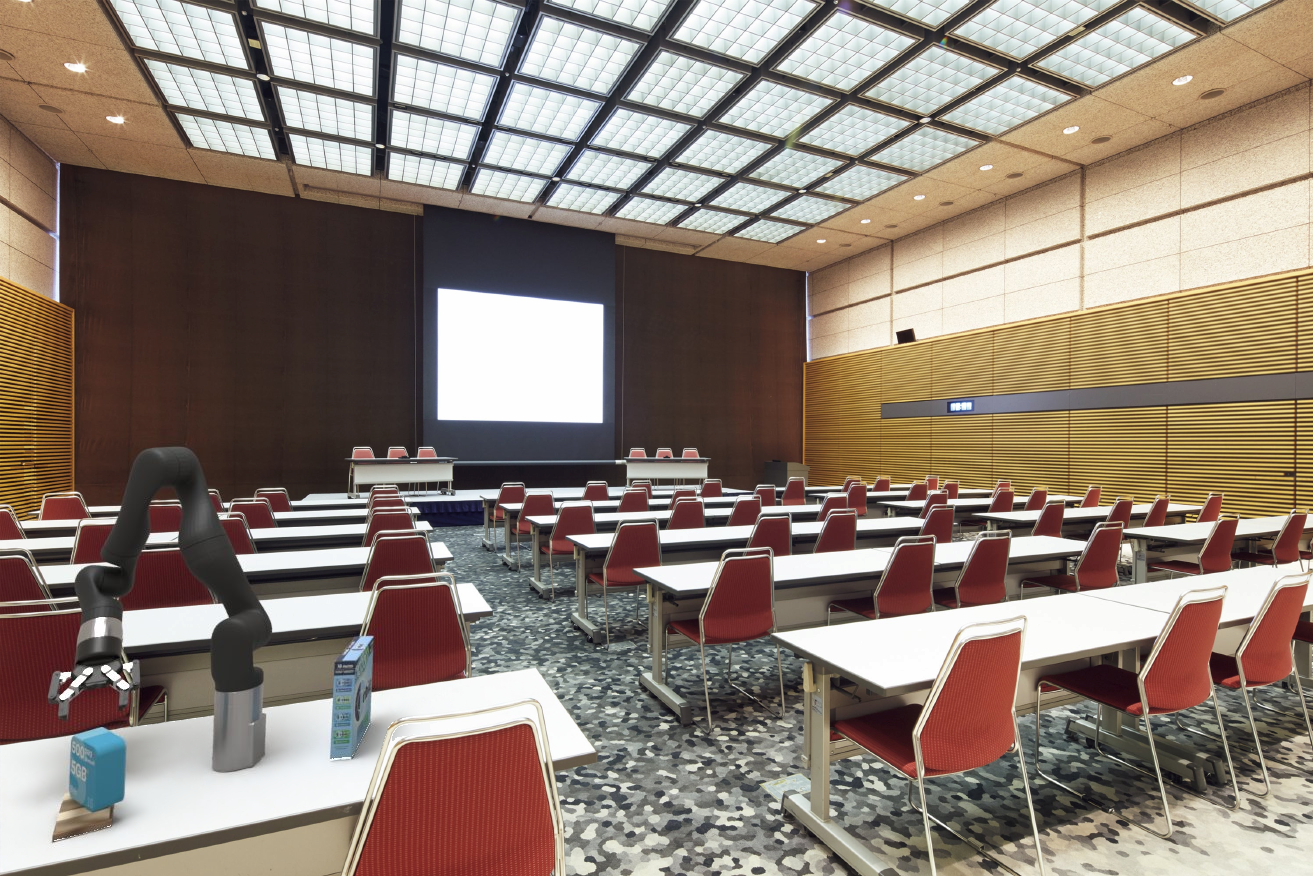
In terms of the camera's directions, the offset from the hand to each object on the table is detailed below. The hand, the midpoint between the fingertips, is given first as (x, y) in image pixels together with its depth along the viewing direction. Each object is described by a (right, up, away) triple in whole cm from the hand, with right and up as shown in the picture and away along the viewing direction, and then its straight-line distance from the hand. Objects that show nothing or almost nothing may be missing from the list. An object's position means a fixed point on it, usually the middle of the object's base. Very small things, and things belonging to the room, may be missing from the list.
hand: (93, 714), depth 128 cm
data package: (+7, -13, -8) cm, 17 cm away
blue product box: (+40, -18, +25) cm, 51 cm away
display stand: (+6, -16, -8) cm, 19 cm away
